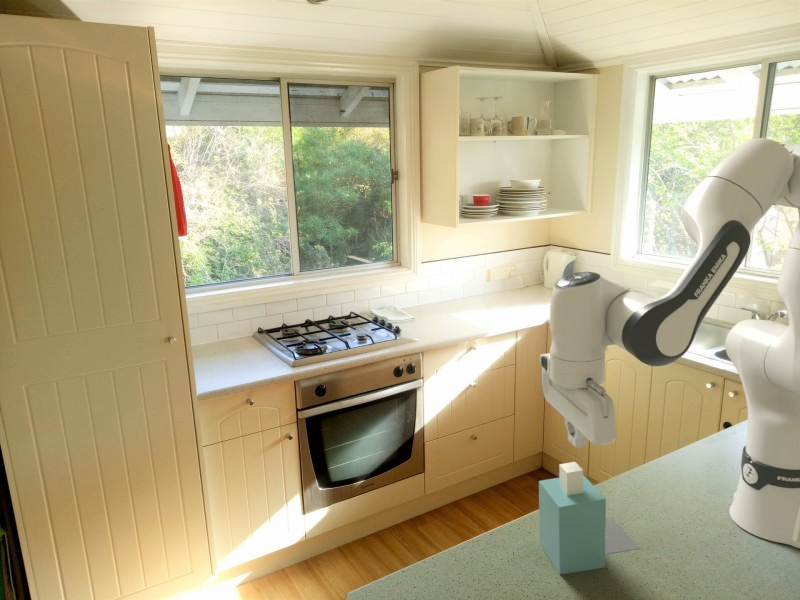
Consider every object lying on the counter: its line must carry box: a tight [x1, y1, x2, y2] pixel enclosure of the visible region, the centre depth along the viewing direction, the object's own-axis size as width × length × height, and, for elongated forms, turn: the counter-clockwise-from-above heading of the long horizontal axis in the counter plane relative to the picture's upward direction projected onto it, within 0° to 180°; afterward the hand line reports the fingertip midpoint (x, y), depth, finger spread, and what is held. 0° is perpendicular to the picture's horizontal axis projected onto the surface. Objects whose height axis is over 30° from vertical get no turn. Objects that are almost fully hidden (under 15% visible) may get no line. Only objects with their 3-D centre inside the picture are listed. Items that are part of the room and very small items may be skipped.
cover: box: [538, 461, 607, 575], centre depth 106 cm, size 8×8×18 cm
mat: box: [605, 517, 641, 555], centre depth 114 cm, size 10×10×1 cm
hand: (576, 444), depth 103 cm, fingers closed
